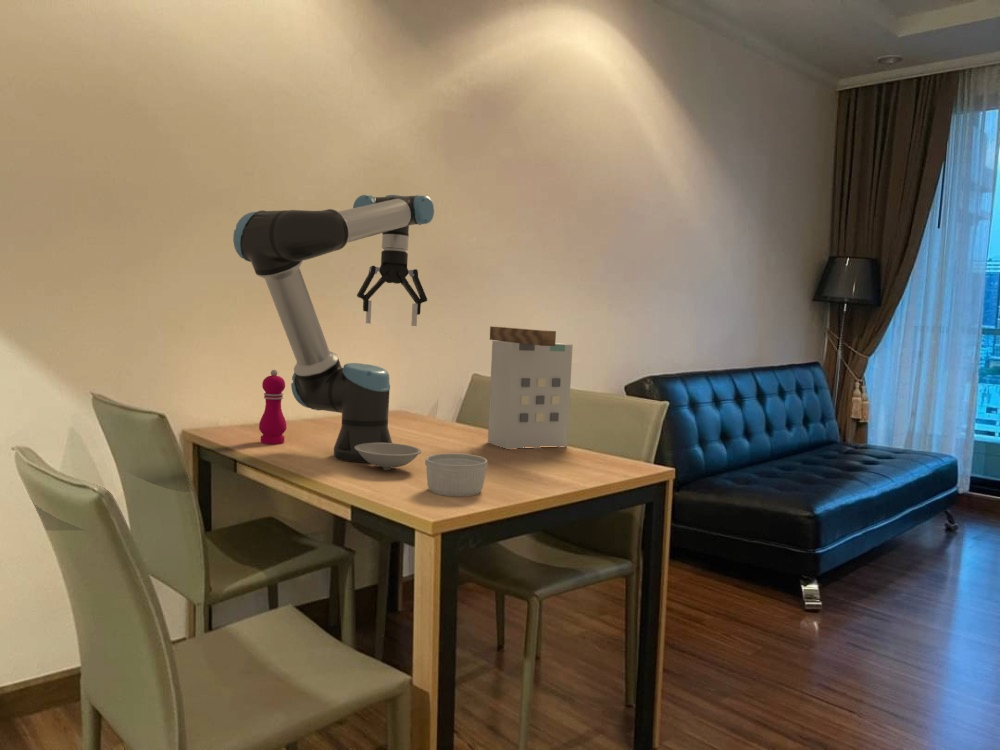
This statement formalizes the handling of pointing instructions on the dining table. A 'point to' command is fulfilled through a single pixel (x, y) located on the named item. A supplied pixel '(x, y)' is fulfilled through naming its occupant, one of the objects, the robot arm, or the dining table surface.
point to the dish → (387, 454)
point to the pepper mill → (273, 410)
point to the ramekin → (455, 474)
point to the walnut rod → (523, 336)
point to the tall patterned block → (529, 395)
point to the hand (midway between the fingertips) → (391, 324)
